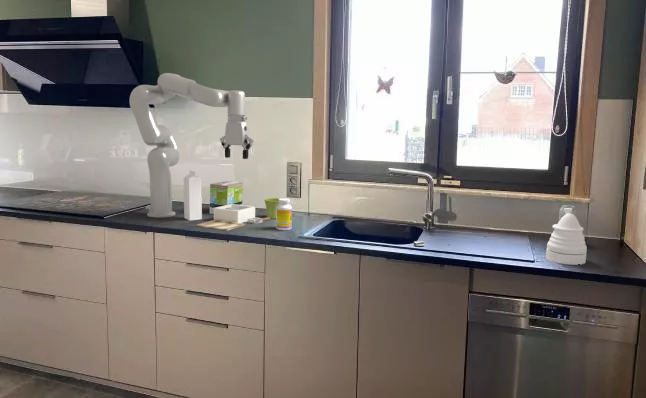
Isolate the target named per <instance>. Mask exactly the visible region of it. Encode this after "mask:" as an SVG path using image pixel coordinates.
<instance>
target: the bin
mask: <svg viewBox="0 0 646 398" xmlns="http://www.w3.org/2000/svg"><path fill="white" fill-rule="evenodd" d="M228 207H238V209H239V210H238V211H237V210H229V209H225V208H228ZM255 217H256V206H251V205H243V204H242V205H235V204H230V205H225V206H221V207H216V208H214V214H213V220H221V221H228V222H235V223H243V224H244V223H246V222H247V219H249V218H255Z"/></svg>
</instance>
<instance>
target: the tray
mask: <svg viewBox="0 0 646 398" xmlns="http://www.w3.org/2000/svg"><path fill="white" fill-rule="evenodd" d="M243 226H246V223H244V222H243V223H235V222H228V221H221V220H214V219H213V220H210V221H206V222H201V223H197V224H196V225H195V227H198V228H206V229H213V230H218V231H219V230H220V231H231V230H234V229H237V228H242V227H243Z"/></svg>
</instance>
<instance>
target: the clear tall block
mask: <svg viewBox="0 0 646 398" xmlns="http://www.w3.org/2000/svg"><path fill="white" fill-rule="evenodd" d="M564 208H571V209H572V212H571V214H573V215H574V216H575V217H576V218H577V216H576V215H577V209H576V206H574V205H569V204H562V205H561V207H560V208H559V212H558V213H559V214H558V222H559V221H560V219H561V218H562V217H563V216H564V215H566V213H565V211H564Z"/></svg>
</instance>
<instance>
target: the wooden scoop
mask: <svg viewBox="0 0 646 398" xmlns="http://www.w3.org/2000/svg"><path fill="white" fill-rule="evenodd" d="M266 221H271V219H270V217H256V216H255V218H249V219H247V221H246V222H247V223H249V224H253V225H255V224H261V223H263V222H266Z"/></svg>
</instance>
